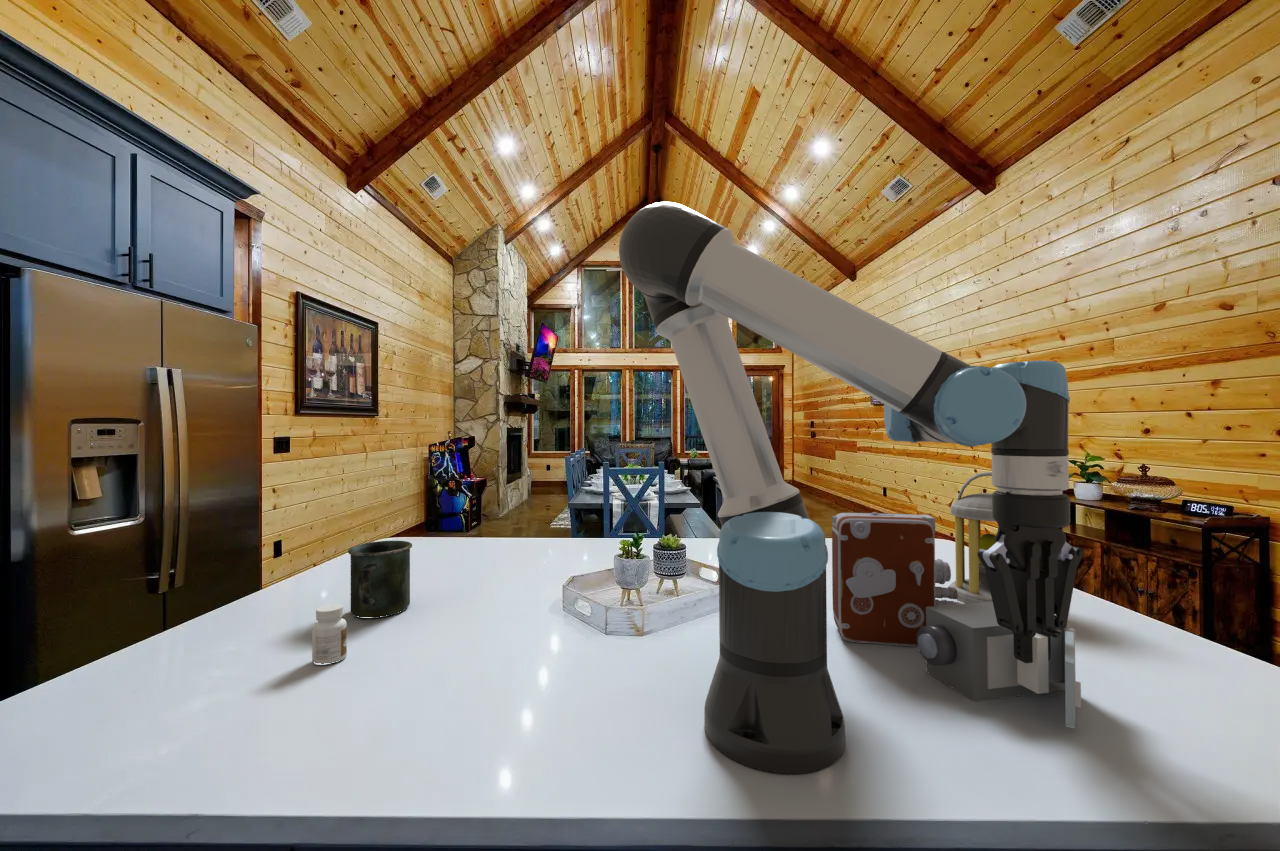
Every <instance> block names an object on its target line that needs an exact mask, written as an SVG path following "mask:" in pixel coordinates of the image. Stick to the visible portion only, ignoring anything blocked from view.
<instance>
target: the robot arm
mask: <svg viewBox="0 0 1280 851" xmlns="http://www.w3.org/2000/svg"><path fill="white" fill-rule="evenodd" d="M618 243H619V244H618V258H619V262H620V266H621V268H622V271H623V273H624V275H625V277H626V279H627V280H628V281H629V282H630V283H631V285H632V286H633V287H634V288H636V289H637V290H638V291H639V292H640V293H641V294H642V295H643V298H644V299H645V303H646V305H647V308H648V311H649V314H650V317H651V320H652V323H653V325H654V329H655V332H656V334H657V335H658V336H660V337H662V338H663V339H664V338H665V339H667V340H668V341H669V342H670V344H671V346H672V349H673V352H674V355H675V358H676V361H677V364H678V366H679V367H678V368H679V371H680V373H681V377H682V379H683V382H684V385H685V387H686V391H687V393H688V397H689V399H690V400H689V401H690V403H691V406H692V409H693V412H694V414H695V418H696V420H697V423H698V424H697V425H698V426H699V430H700V433H701V435H702V438H703V441H704V444H705V447H706V451H707V453H708V456H709V459H710V462H711V465H712V468H713V472H714V474H715V477H716V479H717V484H718V486H719V488H720V491H721V495H722V497H723V501H722V505H721V507H719V508H720V509H719V510H718V513H717V517H718V520H719V523H720V525H721V527H720V528H721V529H720V530H719V534H718V535H719V538H718V543H717V548H716V556H717V558H718V559H717V560H718V596H719V598H718V600H719V601H718V602H719V603H718V604H719V609H718V610H719V612H718V614H719V615H718V617H719V623H718V624H719V625H718V627H719V632H718V633H719V637H718V638H719V657H718V661H717V664H716V667H715V671H714V673H713V676H712V680H711V683H710V686H709V689H708V692H707V695H706V699H705V702H704V707H703V708H704V713H703V714H704V731H705V733H706V737H707V738H708V739H709V741H710V742H711V743H712V745H713V746H714V747H715V748H717V749H718V750H719V752H721V753H722V754H723V755H725V756H726V757H728V758H730V759H732V760H734V761H735V762H738V763H740V764H742V765H745V766H748V767H749V768H750V767H751V768H754V769H757V770H761V771H766V772H772V773H776V774H777V773H778V774H802V773H803V774H804V773H811V772H815V771H818V770H822V769H824V768H827V767H829V766H831V765H832V764H834V763H835V762H837V761H838V760H839V759H840V758H841V756H842V755H843V753H844V751H845V747H846V724H845V718H844V715H843V711H842V708H841V705H840V702H839V698H838V695H837V692H836V690H835V688H834V684H833V681H832V678H831V675H830V672H829V670H828V650H827V649H828V636H827V633H828V627H827V626H828V624H827V623H828V621H827V619H828V618H827V615H828V614H827V612H828V611H827V609H828V608H827V564H828V561H829V550H828V547H827V544H826V536H825V533H824V531H823V529H822V527H821V526H820V525H819V524H818V523H817V522H815V521H813V520H811V519H810V517H809V514H808V511H807V509H806V506H805V504H804V500H803V497H802V495H801V491H800V490H799V488H797V487H795V486H794V485H791V484H790V483H787V482H786V481H785V480H784V478H783V474H782V472H781V469H780V465H779V463H778V461H777V458H776V454H775V452H774V450H773V449H774V448H773V447H772V443H771V440H770V438H769V435H768V432H767V428H766V426H765V423H764V421H763V417H762V414H761V412H760V409H759V407H758V404H757V401H756V398H755V395H754V392H753V390H752V385H751V383H750V381H749V378H748V375H747V372H746V369H745V366H744V363H743V360H742V358H741V355H740V352H739V350H738V347H737V343H736V340H735V338H734V335H733V332H732V328H731V327H730V324H729V319H730V320H733V321H734V322H736V323H737V324H740V325H741V326H743V327H745V328H747V329H748V330H750V331H752V332H754V333H756V334H757V335H760V336H761V337H763V338H765V339H766V340H768V341H770V342H772V343H774V344H776V345H777V346H779V347H781V348H783V349H784V350H786V351H787V352H788V351H789V352H790V353H792V354H793V355H795V356H797V357H799V358H801V359H803V360H804V361H806V362H808V363H810V364H812V365H813V366H816V367H817V368H819V369H820V370H822V371H824V372H827V373H828V374H830V375H831V376H834V378H837V379H839V380H841V381H842V382H844V383H846V384H848V385H849V386H851V387H853V388H855V389H857V390H858V391H861V392H862V393H864V394H865V395H868V396H869V397H871V398H873V399H875V400H877V401H879V402H881V403H882V404H883V406H884V407H883V416H884V417H883V419H884V420H883V422H884V428H885V432H886V435H887V437H888V438H889V439H890V440H892V441H894V442H906V443H907V442H910V443H914V444H917V443H924V442H925V443H928V442H929V443H930V442H931V443H944V444H955V445H956V444H957V445H960V446H965V447H978V446H984V445H987V444H988V445H989V444H990V445H991V452H990V453H991V472H992V476H991V485H992V486H993V487H995V488H997V490H994V491H993V492H992V516H993V518H994V520H996V521H995V522H996V523H997V527H998V528H997V531H996V533H995V534H996V535H995V542H996V543H995V544H994V545H993V546H992V547H991V548H989V549H988V550H985V549H980V550H979V551H978V557H979V559H980V560H981V562H982V564H983V565H984V567H985V570H986V575H987V579H988V584H989V588H990V592H991V597H992V601H993V606H994V610H995V615H996V619H997V623H998V625H1000V626H1002V627H1005V628H1007V629H1009V630H1012V631H1013V635H1014V656H1015V658H1016V659H1017V683H1018V684H1020V685H1022V686H1024V687H1026V688H1028V689H1030V690H1032V691H1034V692H1036V693H1037V694H1036V695H1039V694H1048V693H1049V694H1050V692H1049V681H1048V661H1050V658H1051V636H1052V637H1054V638H1058V637H1059V636H1060V634H1061V632H1058V631H1056V630H1055V629H1057V628H1061V629H1064V628H1065V627H1066V625H1067V626H1068V619H1069V615H1070V614H1069V613H1070V609H1071V605H1072V604H1071V602H1072V598H1073V592H1074V586H1075V581H1076V580H1075V579H1076V575H1077V570H1078V567H1079V565H1080V562H1081V561H1082V559H1083V557H1084V550H1083V548H1081V547H1076V546H1072V545H1071V544H1069V542H1067V537H1066V534H1065V533H1064V529H1063V528H1066V527H1068V526H1069V525H1070V524H1071V498H1070V496H1068V494H1066V493H1063V491H1067V490H1068V489H1070V475H1069V474H1070V473H1069V470H1070V469H1069V455H1070V454H1069V453H1070V452H1069V451H1070V450H1069V404H1070V401H1071V397H1070V396H1069V385H1068V384H1069V382H1068V378H1067V370H1066V368H1065V366H1064V365H1063V364H1062V363H1060V362H1057V361H1054V360H1028V361H1027V360H1026V361H1014V362H1013V361H1012V362H1005V363H999V364H995V365H994V366H992V367H989V366H983V365H979V366H978V365H977V366H976V365H970V364H968V363H967V362H965V361H962V359H961V360H960V359H959V358H956V357H955V356H952V355H950V354H949V353H946V352H944V351H942V350H941V349H940V348H937V347H935V346H933V345H931V344H929V343H928V342H926V341H923V340H922V339H920V338H918V337H916V336H914V335H912V334H910V333H909V332H906V331H904V330H902V329H900V328H899V327H896V326H895V325H893V324H891V323H889V322H887V321H885V320H883V319H882V318H879V317H877V316H876V315H874V314H872V313H870V312H867V311H866V310H864V309H862V308H860V307H858V306H856V305H854V304H853V303H850V302H849V301H846V300H845V299H843V298H841V297H839V296H837V295H836V294H833V293H831V292H829V291H828V290H826V289H824V288H822V287H820V286H818V285H817V284H814V283H812V282H811V281H808V280H806V279H805V278H802V277H801V276H799V275H798V274H795V273H794V272H791V271H790V270H787V269H786V268H784V267H782V266H780V265H777V263H774V262H773V261H770V260H768V259H766V258H765V257H763V256H760V255H758V254H757V253H754V252H753V251H751V250H749V249H747V248H745V247H743V246H742V245H740V244H737V243H736V242H735V239H734V235H733V232H732V230H731V229H729V228H727V227H725V226H724V225H721V224H719V223H717V222H716V221H714V220H712V219H710V218H709V217H707V216H705V215H703V214H701V213H699V212H698V211H695V210H694V209H692V208H689V207H687V206H686V205H683V204H681V203H677V202H672V201H660V202H654V203H652V204H648V205H646V206H644V207H643V208H641V209H639V210H638V211H636V212H635V214H633V215H632V216H631V218H630V219H628V221H627V222H626V224H625V226H624V227H623V229H622V232H621V235H620V238H619V242H618ZM1054 615H1055V616H1054Z"/></svg>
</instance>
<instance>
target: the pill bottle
mask: <svg viewBox="0 0 1280 851" xmlns="http://www.w3.org/2000/svg"><path fill="white" fill-rule="evenodd" d="M343 615H344V605H343V604H340V603H331V604H324V605H322V606H318V607H317V608H316V609H315V619H316V621H317V622H316V623H314V624H313V626H312V630H311V631H312V633H311V637H312V638H311V639H312V640H311V641H312V644H311V645H312V646H311V660H312V661H313V662H315V663H321V664H324V663H332V662H336V661H339V660H342V659H343V658H344V659H346V658H347V656H348V654H347V653H348V652H347V651H348V649H347V647H348V646H347V643H348V642H347V637H348V636H347V634H348V631H347V630H348V623H347V620H346V619H345V618H342V617H343ZM346 655H347V656H346ZM344 659H343V660H344ZM343 660H342V661H343ZM312 661H311V662H312ZM313 662H312V663H313Z"/></svg>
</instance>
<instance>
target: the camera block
mask: <svg viewBox="0 0 1280 851" xmlns="http://www.w3.org/2000/svg"><path fill="white" fill-rule="evenodd" d="M1054 616H1056V614H1054ZM1065 628H1068V624H1067V625H1066V627H1065ZM1055 630H1056V631H1058V632H1061V634H1060V636H1059V637H1058V638H1054V637H1052V636H1051V658H1050V661H1048V681H1049V693H1054V692H1055V693H1056V692H1057V693H1058V692H1063V691H1064V692H1065V685H1064V629H1061V628H1057V629H1055ZM917 645H918V647H917V648H918V651H919V653H920V655H921V657H922V658H923V659H924V661H925V662H926V673H927V674H929V675H931V676H932V677H934V678H935V679H937V680H939V681H940V682H942V683H943V684H945V685H947V686H948V687H950V688H951V689H953V690H954V691H956V692H958V693H959V694H961V695H963V696H964V697H966V698H968V699H969V700H971V701H972V702H980V701H981V702H982V701H989V700H996V699H1004V698H1007V699H1008V698H1014V697H1023V696H1031V695H1038V694H1037V693H1036V692H1034V691H1032V690H1030V689H1028V688H1026V687H1024V686H1022V685H1020V684H1018V683H1017V659H1016V658H1015V656H1014V635H1013V631H1012V630H1009V629H1007V628H1005V627H1002V626H1000V625H998V623H997V619H996V615H995V610H994V606H993V602H981V603H968V604H967V603H964V604H955V605H942V606H929V607H926V626H923V627H921V628H920V629H919V630H918V632H917Z"/></svg>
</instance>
